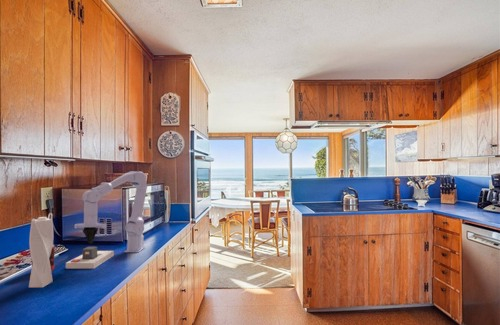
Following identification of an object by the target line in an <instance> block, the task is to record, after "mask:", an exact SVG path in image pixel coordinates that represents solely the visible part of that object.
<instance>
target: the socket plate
mask: <svg viewBox="0 0 500 325" xmlns="http://www.w3.org/2000/svg"><path fill="white" fill-rule="evenodd" d="M114 256H115V251H114V250H97V257H96V258H95V259H82V257H83V253H82V254H80V255H79V256H77V257H74V258H72V259H71V260H68V261H67V262H65V269H72V270H73V269H96V268H97V267H98V266H100V265H102V264H103V263H105V262H107V261H108V260H109V259H111V258H112V257H114Z"/></svg>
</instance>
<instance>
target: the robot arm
mask: <svg viewBox="0 0 500 325" xmlns="http://www.w3.org/2000/svg"><path fill="white" fill-rule="evenodd" d="M124 183H130V184H131V185H133V187H134V188H135V195H134V201H133V206H132V211H131V216H130V217H129V218H128V219H127V222H126V224H125V226H124V230H125V232H126V233H127V234H126V235H127V249H126V250H124V253H140V252H141V251H142V250H144V249H145V248H146V246H144V238H145V236H144V234H143V233H144V231H145V225H144V223H145V220H144V219H143V217H142V216H143V211H144V207H145V206H144V205H145V202H146V195H147V190H148V184H147V176H146V174H145V173H144V172H143V171H142V170H141V171H133V170H132V171H131V170H130V171H128V172H124V174H122V175H120V176H119V177H117V178H115V179H113V180H112V181H110V182H103V181H102V182H101V183H100V184H99V185H98V186H96V187H91V189H90V190H85V191H84V192H83V193H82V196H81V199H82V201H83V222H82V223H75V224H74V229H82V233H83V234H84V236H85V238H86V241H87V244H88V245H89V244H93V243H94V241H95V240H94V239H95V237H96V235H97V232H98V230H99V229H107V223H102V222H98V208H99V207H98V206H99V205H98V204H99V203H98V202H99V200H100V199H101V198H103V197H105V196H106V195H108V194H110V193H112V192H113V189H115V188H116V187H119V186H121V185H123V184H124Z"/></svg>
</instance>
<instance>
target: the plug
mask: <svg viewBox="0 0 500 325" xmlns="http://www.w3.org/2000/svg"><path fill="white" fill-rule="evenodd" d="M97 251H98V246H86V247H85V248H83V249H82V254H83V257H82V259H95V258H96V257H97Z"/></svg>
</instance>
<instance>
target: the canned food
mask: <svg viewBox="0 0 500 325" xmlns="http://www.w3.org/2000/svg"><path fill="white" fill-rule="evenodd" d="M49 261H50V266H51V272H53V270H54V269H55V244H54V243H53V246H52V250H51V254H50V257H49ZM32 265H33V262H32V261H31V266H32Z"/></svg>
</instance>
